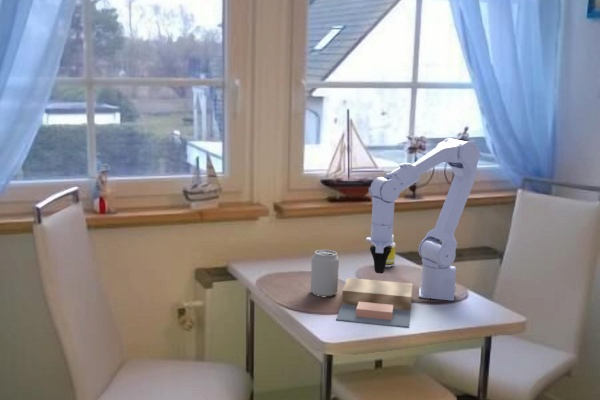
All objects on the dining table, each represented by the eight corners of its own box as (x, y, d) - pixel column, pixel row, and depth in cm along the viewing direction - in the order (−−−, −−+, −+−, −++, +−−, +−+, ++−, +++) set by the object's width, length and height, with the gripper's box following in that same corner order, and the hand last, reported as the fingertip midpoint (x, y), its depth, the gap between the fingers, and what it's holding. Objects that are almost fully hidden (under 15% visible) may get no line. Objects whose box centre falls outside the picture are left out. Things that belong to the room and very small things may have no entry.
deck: (411, 297, 201) (412, 283, 201) (410, 311, 190) (411, 296, 189) (346, 291, 204) (347, 277, 204) (341, 304, 193) (342, 290, 192)
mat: (410, 311, 190) (410, 310, 190) (408, 327, 178) (409, 326, 178) (341, 304, 193) (341, 303, 193) (336, 320, 181) (336, 319, 181)
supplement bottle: (397, 264, 234) (399, 235, 232) (389, 268, 229) (391, 238, 227) (381, 261, 236) (383, 232, 235) (374, 265, 232) (376, 235, 230)
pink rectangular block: (392, 312, 182) (391, 320, 182) (393, 304, 187) (392, 312, 188) (356, 308, 183) (355, 316, 183) (358, 301, 189) (358, 308, 189)
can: (328, 299, 196) (330, 257, 194) (305, 294, 200) (307, 252, 198) (342, 293, 203) (344, 251, 200) (319, 287, 206) (320, 246, 204)
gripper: (369, 216, 200) (366, 264, 202) (364, 228, 186) (362, 279, 188) (395, 218, 199) (392, 266, 201) (392, 230, 185) (389, 281, 187)
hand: (379, 272), depth 195 cm, fingers closed
